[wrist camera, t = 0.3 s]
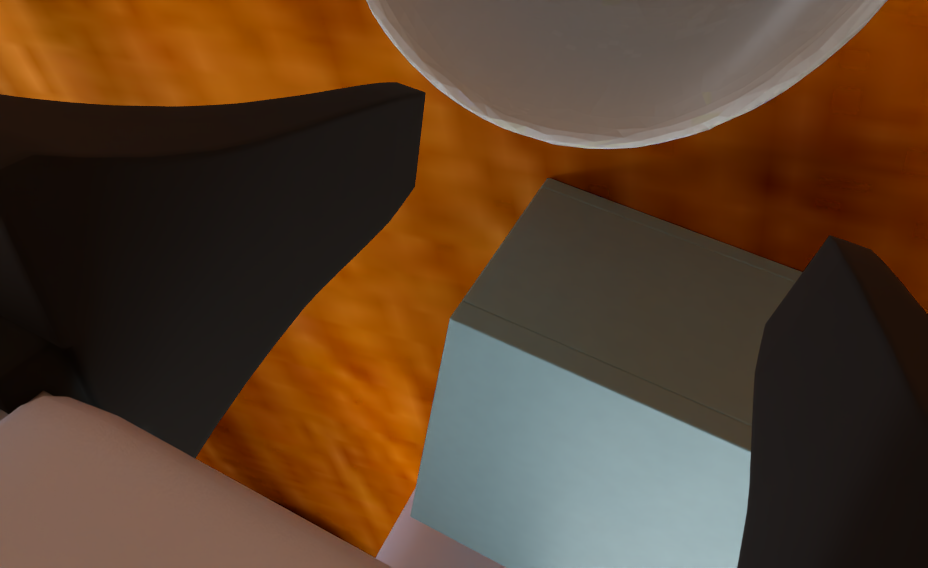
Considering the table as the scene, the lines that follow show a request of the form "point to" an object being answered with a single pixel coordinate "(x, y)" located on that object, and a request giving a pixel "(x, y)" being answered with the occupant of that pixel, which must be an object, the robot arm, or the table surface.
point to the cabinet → (599, 393)
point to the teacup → (617, 60)
